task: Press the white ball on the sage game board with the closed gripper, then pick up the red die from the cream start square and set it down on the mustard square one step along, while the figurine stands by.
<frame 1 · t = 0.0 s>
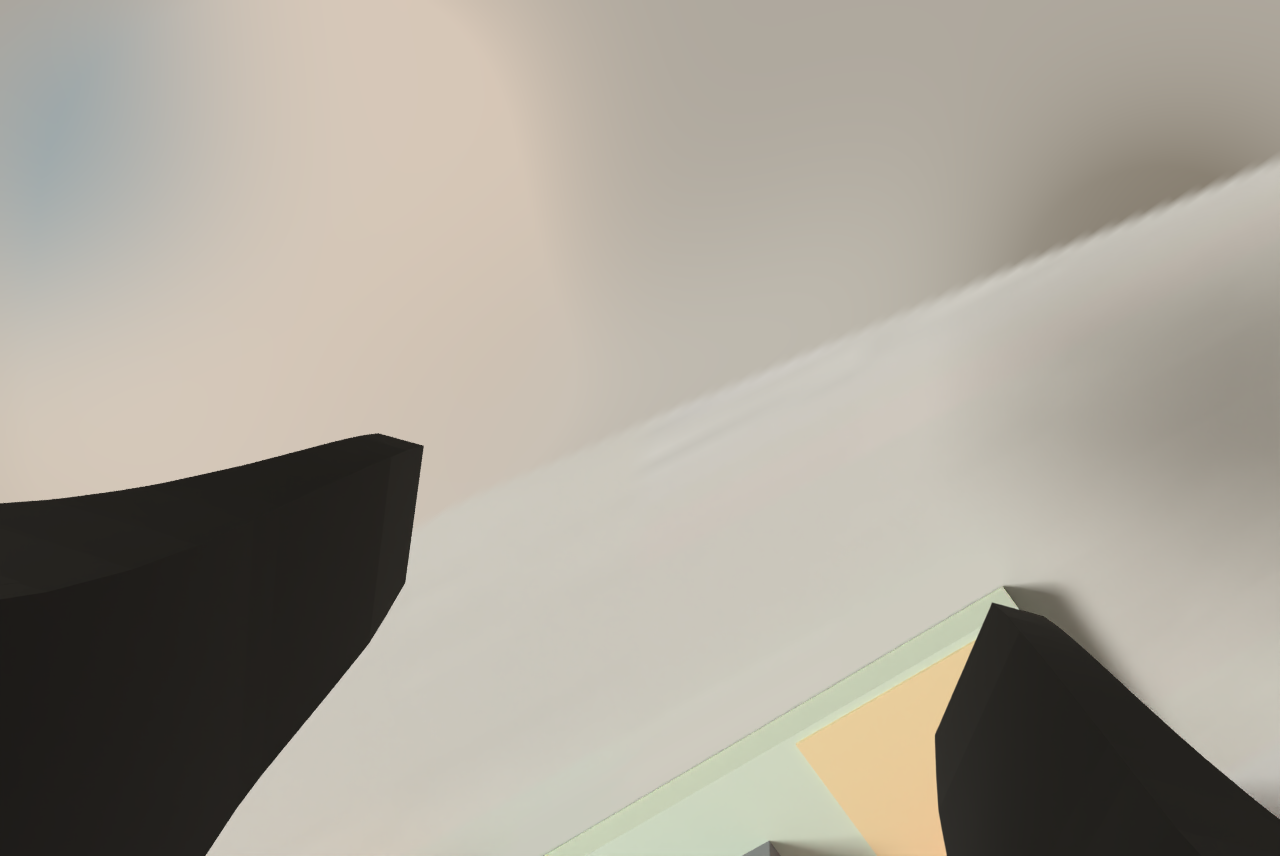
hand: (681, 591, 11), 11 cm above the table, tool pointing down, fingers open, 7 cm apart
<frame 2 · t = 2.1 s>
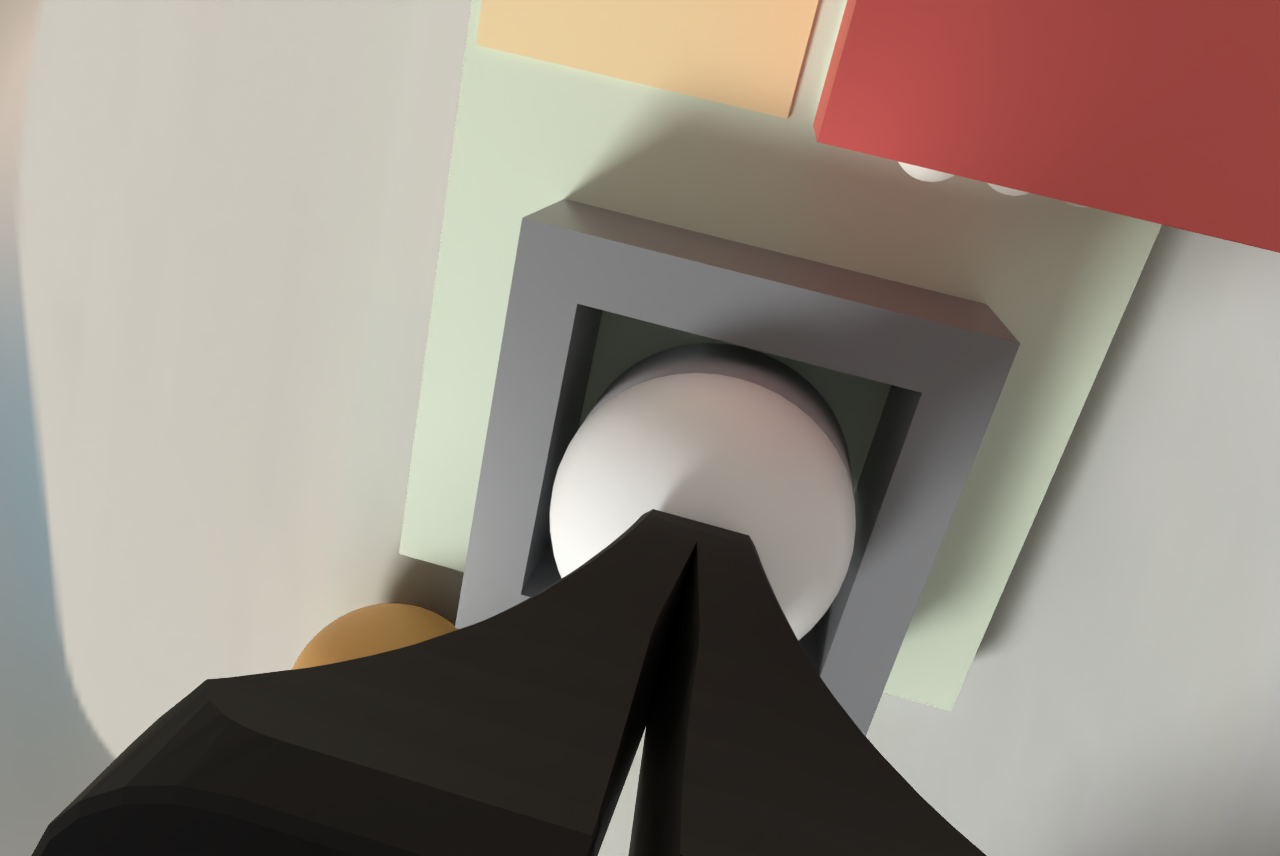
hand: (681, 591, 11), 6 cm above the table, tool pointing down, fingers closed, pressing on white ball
white ball: (700, 517, 13), point 4 cm above the table, slide at -0.3 cm, touching gripper
figurine: (425, 679, 21), on the table
dome housing: (712, 471, 15), on the board, point 2 cm above the table
board: (777, 225, 16), on the table
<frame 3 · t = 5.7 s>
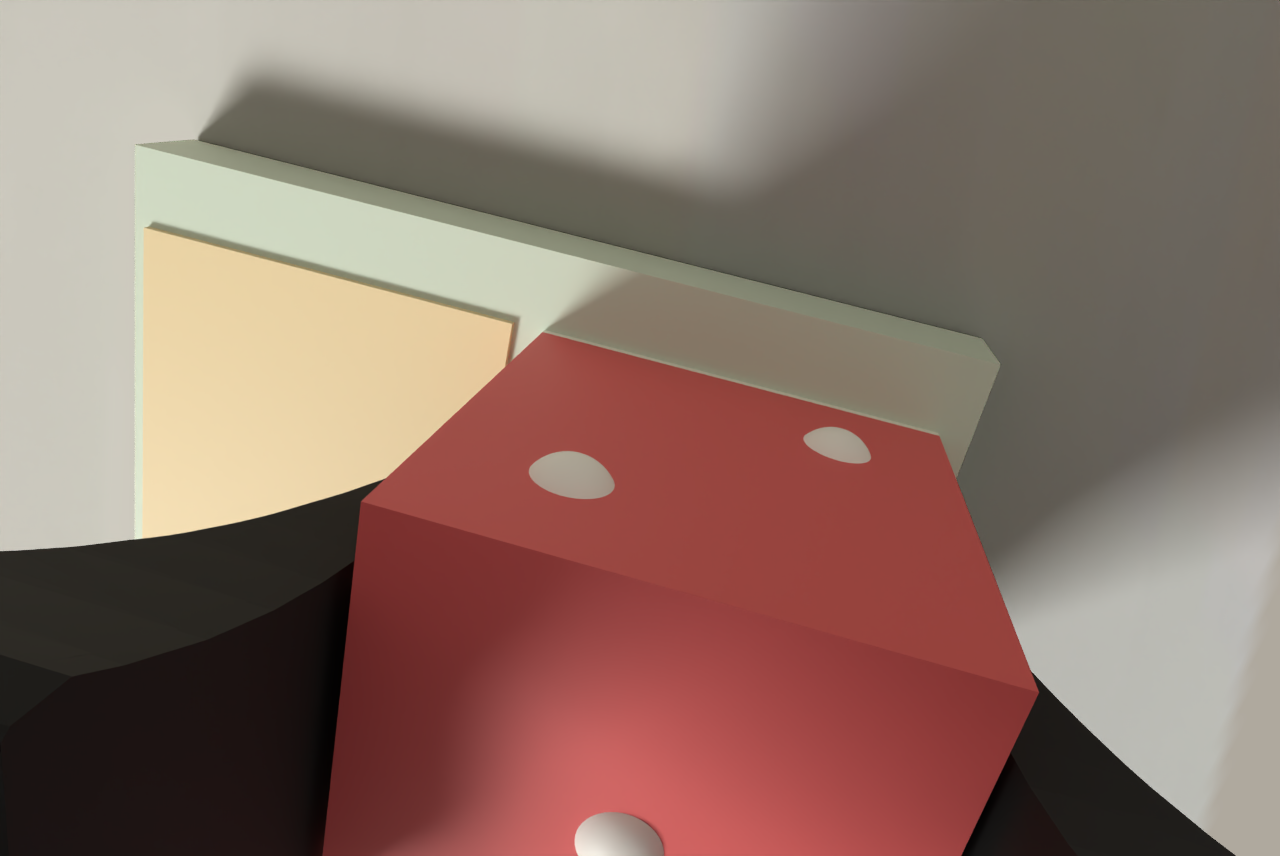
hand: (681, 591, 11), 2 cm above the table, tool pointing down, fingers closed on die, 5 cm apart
die: (690, 556, 12), point 1 cm above the table, touching board, gripper
board: (488, 693, 15), on the table
when the fingers open (3 cm above the table, at t = 8.4 s): die drops 1 cm, resting on board.
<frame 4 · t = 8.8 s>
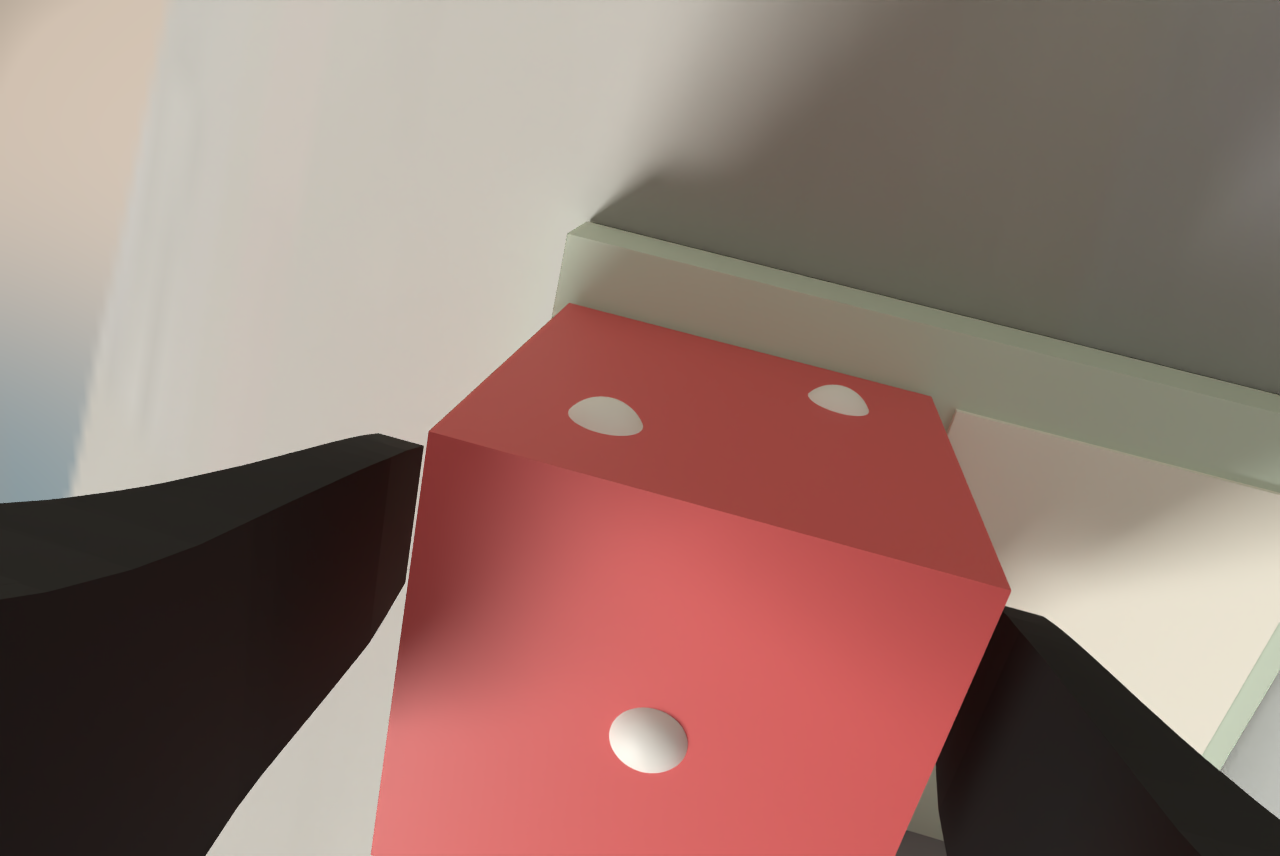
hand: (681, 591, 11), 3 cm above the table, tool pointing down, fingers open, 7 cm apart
die: (703, 510, 13), point 1 cm above the table, touching board
board: (806, 738, 16), on the table
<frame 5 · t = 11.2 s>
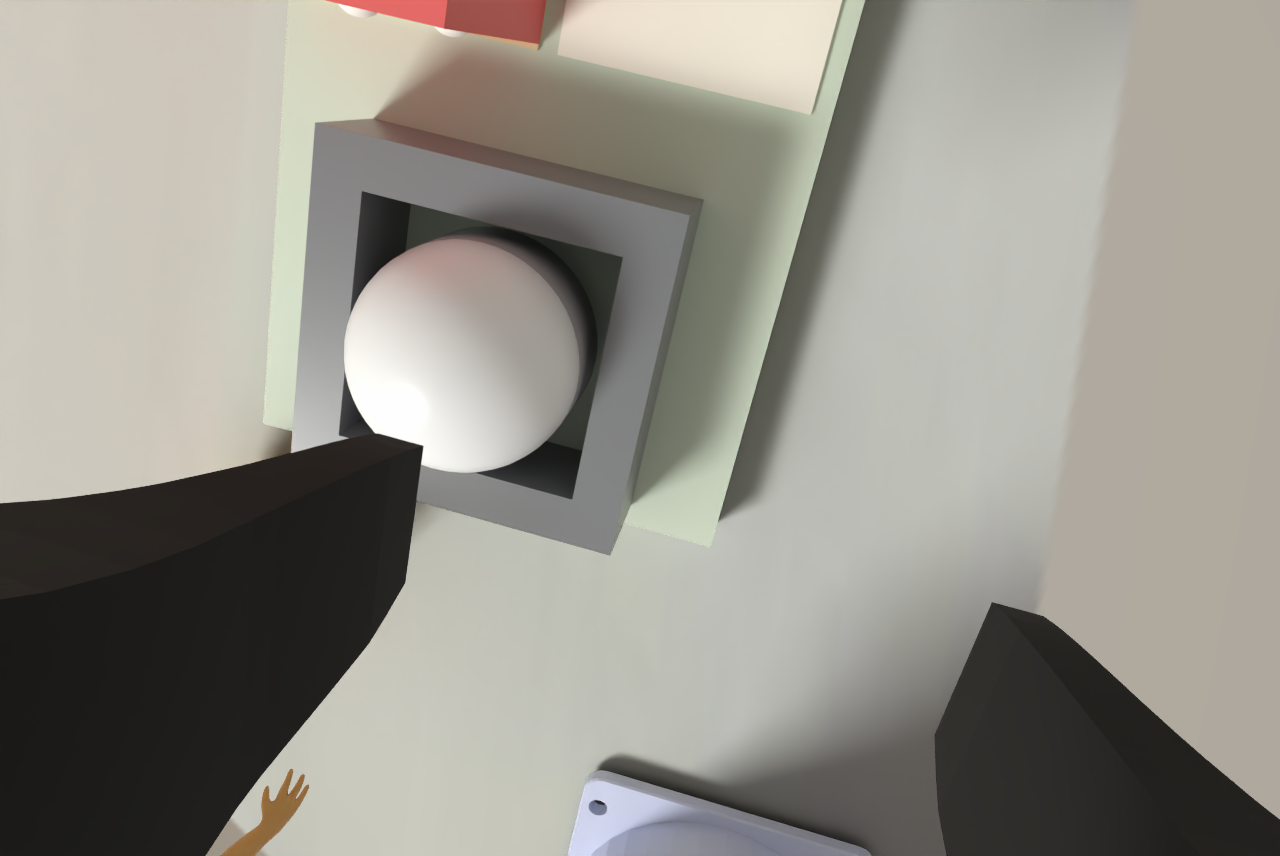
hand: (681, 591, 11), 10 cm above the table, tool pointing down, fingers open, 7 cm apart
white ball: (466, 356, 17), point 4 cm above the table, slide at -0.5 cm
figurine: (301, 544, 24), on the table
dome housing: (491, 336, 18), on the board, point 2 cm above the table
board: (553, 142, 19), on the table
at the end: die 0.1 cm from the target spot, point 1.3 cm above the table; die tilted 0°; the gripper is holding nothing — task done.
